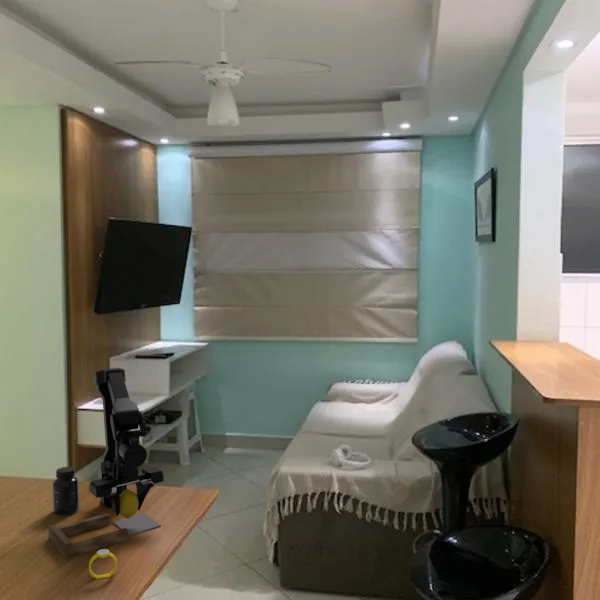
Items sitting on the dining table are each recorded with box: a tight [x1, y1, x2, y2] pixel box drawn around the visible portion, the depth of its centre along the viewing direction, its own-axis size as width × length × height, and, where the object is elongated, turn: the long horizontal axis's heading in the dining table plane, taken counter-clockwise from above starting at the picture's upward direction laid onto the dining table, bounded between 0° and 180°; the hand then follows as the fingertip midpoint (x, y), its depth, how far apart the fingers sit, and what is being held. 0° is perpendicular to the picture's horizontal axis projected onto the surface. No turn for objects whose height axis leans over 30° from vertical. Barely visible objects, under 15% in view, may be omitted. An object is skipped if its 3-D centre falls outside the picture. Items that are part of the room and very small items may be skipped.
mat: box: [113, 512, 162, 537], centre depth 165 cm, size 9×10×1 cm
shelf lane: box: [47, 512, 129, 559], centre depth 156 cm, size 16×13×4 cm
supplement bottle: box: [52, 466, 80, 516], centre depth 173 cm, size 7×7×12 cm
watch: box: [88, 548, 118, 580], centre depth 138 cm, size 6×3×6 cm, turn 109°
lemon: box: [119, 488, 139, 519], centre depth 163 cm, size 6×6×8 cm
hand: (127, 512), depth 163 cm, fingers closed on lemon, 5 cm apart
